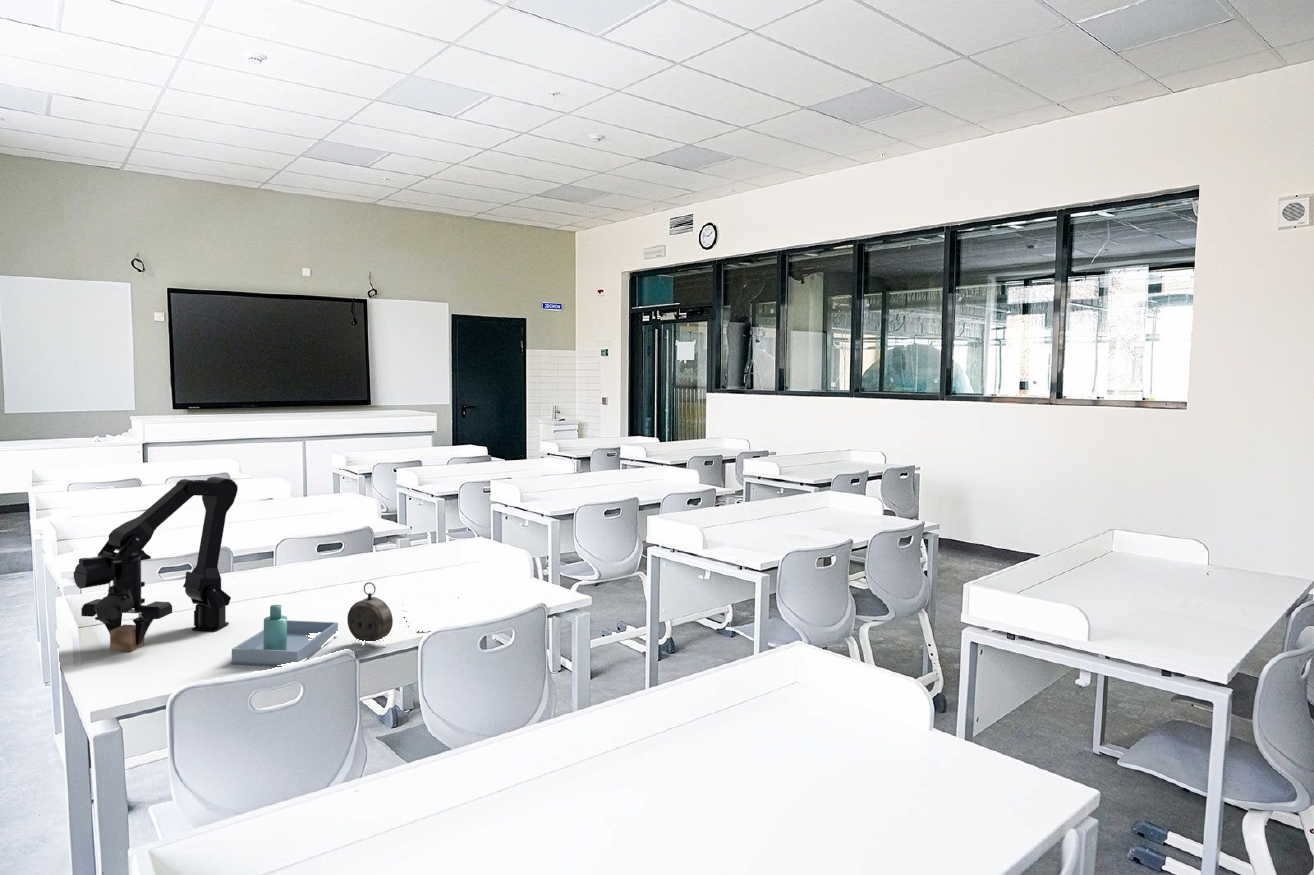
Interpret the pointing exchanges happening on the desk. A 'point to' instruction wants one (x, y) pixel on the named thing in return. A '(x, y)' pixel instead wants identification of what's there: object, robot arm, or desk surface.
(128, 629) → the walnut cube
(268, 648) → the teal canister
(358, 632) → the alarm clock
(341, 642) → the desk surface
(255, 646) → the tray
